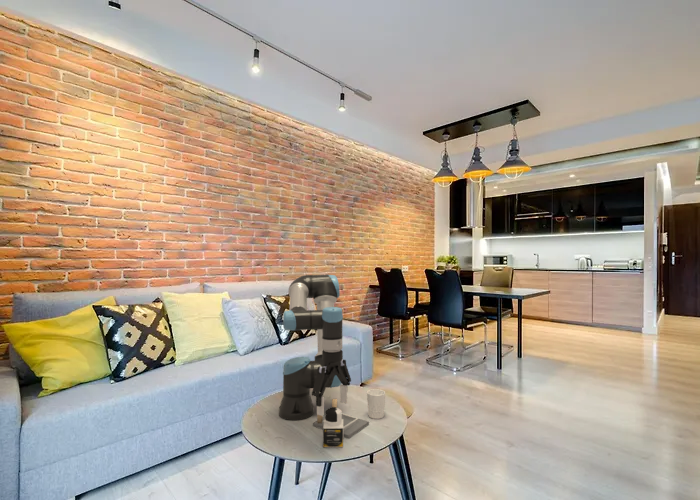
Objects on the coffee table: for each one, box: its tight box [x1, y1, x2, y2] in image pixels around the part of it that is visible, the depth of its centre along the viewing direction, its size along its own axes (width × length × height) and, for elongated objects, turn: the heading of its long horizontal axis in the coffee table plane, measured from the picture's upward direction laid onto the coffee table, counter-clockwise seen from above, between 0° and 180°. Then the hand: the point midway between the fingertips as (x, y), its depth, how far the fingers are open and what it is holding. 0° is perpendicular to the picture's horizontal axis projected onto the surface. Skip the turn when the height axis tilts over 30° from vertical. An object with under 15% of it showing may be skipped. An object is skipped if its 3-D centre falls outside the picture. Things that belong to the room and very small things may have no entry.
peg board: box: [312, 398, 370, 440], centre depth 142 cm, size 18×14×7 cm
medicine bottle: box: [322, 406, 344, 448], centre depth 129 cm, size 7×7×12 cm
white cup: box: [366, 388, 386, 420], centre depth 151 cm, size 8×8×10 cm
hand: (332, 408), depth 128 cm, fingers open, 13 cm apart
